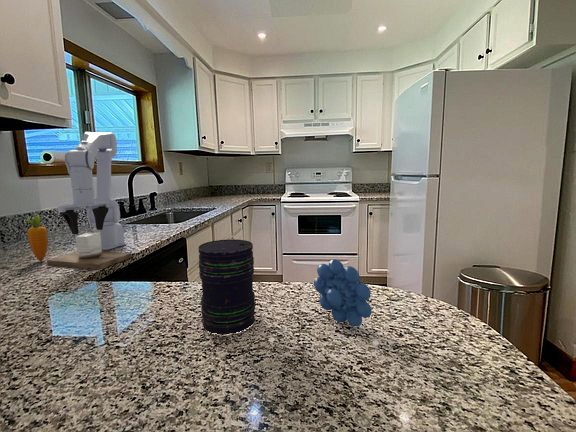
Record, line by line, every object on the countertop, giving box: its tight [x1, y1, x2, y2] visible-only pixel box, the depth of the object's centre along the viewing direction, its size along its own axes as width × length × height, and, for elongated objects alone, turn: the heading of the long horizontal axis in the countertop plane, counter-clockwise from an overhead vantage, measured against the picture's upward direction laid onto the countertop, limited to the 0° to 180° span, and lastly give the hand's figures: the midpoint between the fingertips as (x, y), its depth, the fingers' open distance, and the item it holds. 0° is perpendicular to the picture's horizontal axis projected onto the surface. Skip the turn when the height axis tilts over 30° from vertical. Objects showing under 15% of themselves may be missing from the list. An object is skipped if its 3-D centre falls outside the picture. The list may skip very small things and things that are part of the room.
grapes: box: [313, 258, 373, 327], centre depth 54 cm, size 12×7×12 cm, turn 53°
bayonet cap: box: [74, 231, 103, 258], centre depth 96 cm, size 6×7×7 cm
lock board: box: [46, 250, 133, 270], centre depth 97 cm, size 13×20×2 cm, turn 75°
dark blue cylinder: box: [198, 238, 256, 334], centre depth 55 cm, size 10×10×15 cm
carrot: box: [25, 215, 49, 262], centre depth 97 cm, size 5×5×15 cm
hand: (87, 231), depth 96 cm, fingers open, 7 cm apart
